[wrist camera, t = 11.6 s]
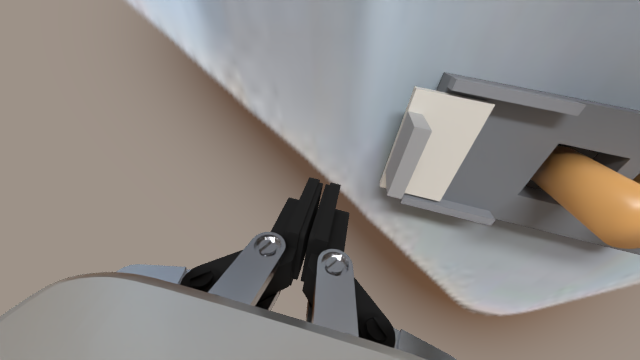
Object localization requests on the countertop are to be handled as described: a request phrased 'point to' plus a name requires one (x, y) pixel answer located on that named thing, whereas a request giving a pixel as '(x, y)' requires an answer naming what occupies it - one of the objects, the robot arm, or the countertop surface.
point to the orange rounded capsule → (593, 196)
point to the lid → (432, 142)
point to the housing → (531, 155)
